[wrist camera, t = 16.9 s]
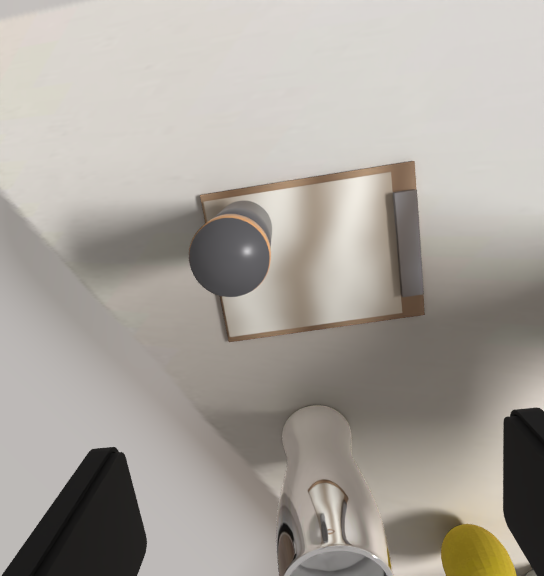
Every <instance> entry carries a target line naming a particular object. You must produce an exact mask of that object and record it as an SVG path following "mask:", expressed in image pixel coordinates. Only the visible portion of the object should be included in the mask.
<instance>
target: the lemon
mask: <svg viewBox="0 0 544 576" xmlns="http://www.w3.org/2000/svg"><path fill="white" fill-rule="evenodd" d="M441 559H442V564H443V568H444V571H445V574H446V576H517V575H516V571H515V568H514V566H513V563H512V561H511V559H510V557H509V555H508V553H507V551H506V549H505V548H504V546H503V545H502V544H501V543H500V542H499V540H498V539H497V538H496V537H495V536H494V535H493V534H492V533H490V532H489V531H487V530H485V529H484V528H482V527H479V526H476V525H472V524H463V525H459V526H456V527H454V528H452V529H451V530H450V531H449V532H448V533H447V535H446V536H445V538H444V540H443V543H442V547H441Z"/></svg>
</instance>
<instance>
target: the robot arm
mask: <svg viewBox="0 0 544 576" xmlns="http://www.w3.org/2000/svg"><path fill="white" fill-rule="evenodd" d="M503 512H504V517H505V521H506V523H507V526H508V528H509V529H510V531H511V533H512V534H513V536H514V538H515V540H516V541H517V543H518V545H519V546H520V548H521V550H522V551H523V553H524V555H525V556H526V558H527V560H528V561H529V563H530V565H531V566H532V568H533V570H534V572H535V573H536V575H537V576H544V411H543V410H542V409H540V408H528V409H517V410H513V411H512V412H511V414H510V417H505V419H504V446H503ZM146 547H147V539H146V534H145V530H144V526H143V522H142V518H141V515H140V511H139V507H138V503H137V499H136V495H135V491H134V488H133V484H132V480H131V476H130V472H129V469H128V465H127V461H126V457H125V455H124V453H122V452H118V450H117V449H116V448H115V447H109V448H98V449H92V450H91V451H90V452H89V453H88V454H87V456H86V457H85V459H84V460H83V461H82V463H81V464H80V466H79V467H78V468H77V470H76V471H75V473H74V474H73V475H72V477H71V478H70V480H69V481H68V483H67V484H66V485H65V487H64V488H63V490H62V491H61V492H60V494H59V496H58V497H57V498H56V500H55V501H54V502H53V504H52V505H51V507H50V508H49V510H48V511H47V512H46V514H45V515H44V517H43V518H42V519H41V521H40V522H39V524H38V525H37V526H36V528H35V529H34V531H33V532H32V533H31V535H30V536H29V538H28V539H27V541H26V542H25V544H24V545H23V546H22V548H21V549H20V550H19V552H18V553H17V555H16V556H15V558H14V559H13V560H12V562H11V563H10V565H9V566H8V567H7V569H6V570H5V572H4V573H3V575H2V576H137V574H138V572H139V569H140V566H141V563H142V561H143V558H144V556H145V553H146Z"/></svg>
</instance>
